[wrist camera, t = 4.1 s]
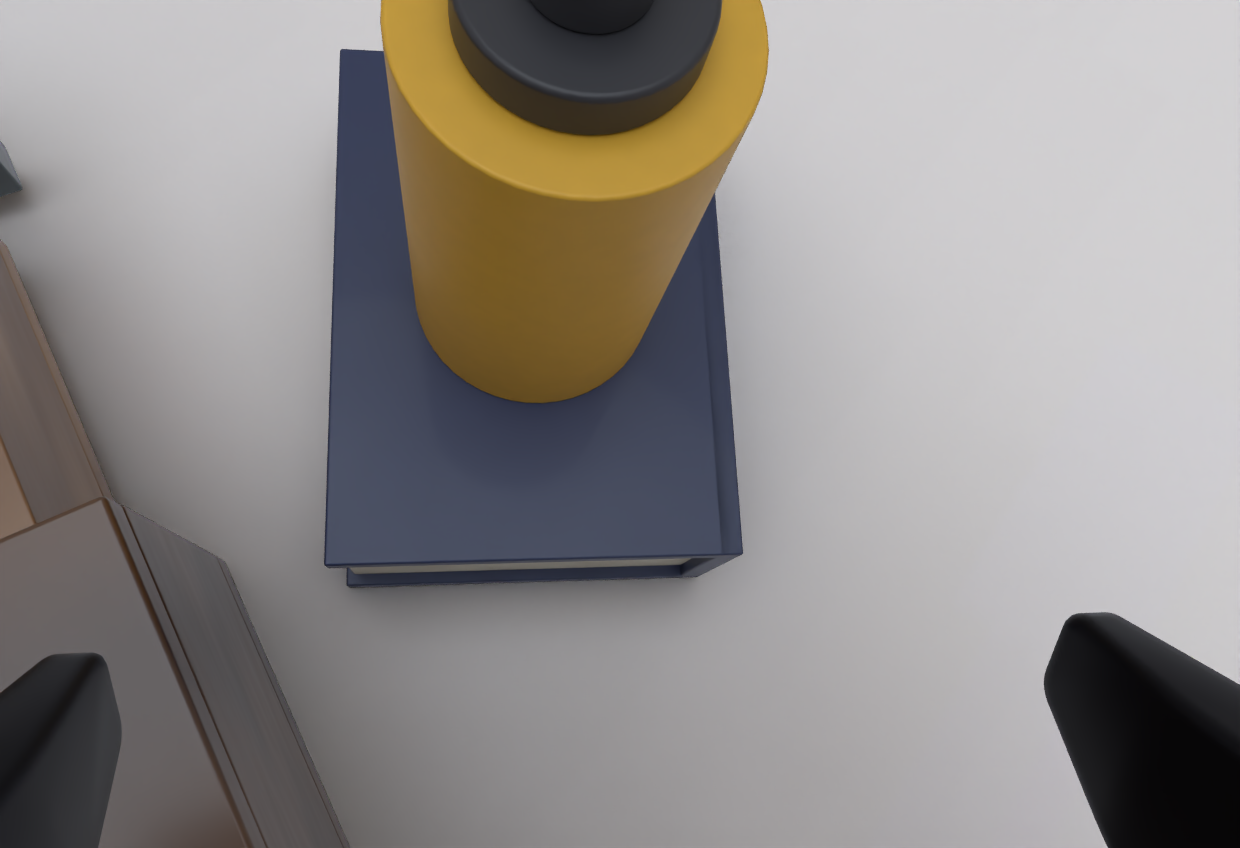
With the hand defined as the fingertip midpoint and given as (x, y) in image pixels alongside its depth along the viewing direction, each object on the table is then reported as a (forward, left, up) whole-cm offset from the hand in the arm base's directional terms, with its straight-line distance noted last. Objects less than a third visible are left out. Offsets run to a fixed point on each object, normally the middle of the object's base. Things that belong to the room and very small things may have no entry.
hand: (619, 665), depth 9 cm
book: (+3, -7, -13) cm, 15 cm away
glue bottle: (+3, -7, -9) cm, 12 cm away
